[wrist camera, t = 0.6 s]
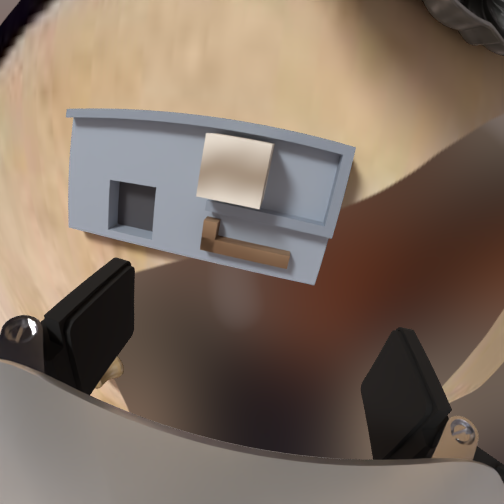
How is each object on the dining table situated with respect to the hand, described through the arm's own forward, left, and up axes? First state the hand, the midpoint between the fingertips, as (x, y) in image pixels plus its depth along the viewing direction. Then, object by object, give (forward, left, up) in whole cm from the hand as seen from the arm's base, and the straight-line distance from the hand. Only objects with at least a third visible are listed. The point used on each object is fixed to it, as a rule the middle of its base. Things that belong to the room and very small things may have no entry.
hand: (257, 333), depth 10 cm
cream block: (-3, -4, -21) cm, 21 cm away
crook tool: (+6, -2, -21) cm, 22 cm away
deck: (+1, -10, -23) cm, 25 cm away
